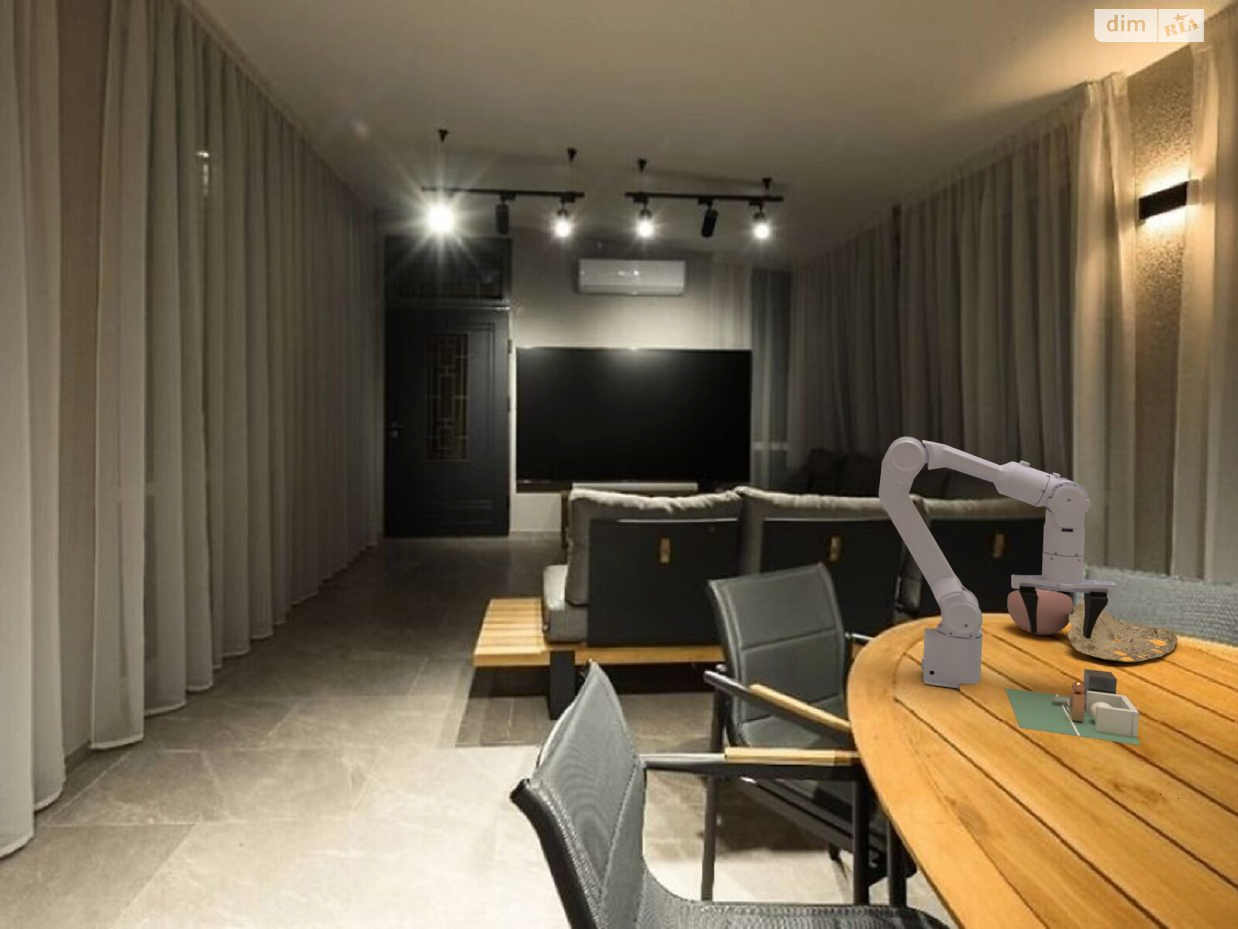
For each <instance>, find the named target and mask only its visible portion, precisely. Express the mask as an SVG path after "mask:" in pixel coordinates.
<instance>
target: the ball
mask: <svg viewBox="0 0 1238 929" xmlns="http://www.w3.org/2000/svg"><path fill="white" fill-rule="evenodd" d="M1096 705H1099V706H1106V707H1111V706H1110V705H1109V704H1107V703H1104V702H1097V703H1094V704H1093V705H1092V706H1091V708H1090V715H1091V717H1092V719H1093V720H1094V721H1096Z"/></svg>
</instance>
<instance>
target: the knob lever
mask: <svg viewBox="0 0 1238 929" xmlns="http://www.w3.org/2000/svg"><path fill="white" fill-rule="evenodd" d="M1117 683H1118V678H1117V677H1116V676H1115V675H1114V674H1113V672H1111V671H1105V670H1096V669H1090V668H1089V669H1088V668H1083V683H1082V682H1081V681H1074V682H1072V685H1071V689H1070V693H1069V694H1070V695H1069V696H1070V698H1064V697H1056V696H1052V703H1060V704H1065V706H1066V708H1067V710H1068V712H1069V715H1070V717H1071V719H1072V720H1075V721H1082V722H1084V709H1085V708H1086V697H1087V691H1093V692H1101V693H1109V694H1117V686H1118V685H1117Z"/></svg>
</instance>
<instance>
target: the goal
mask: <svg viewBox="0 0 1238 929" xmlns="http://www.w3.org/2000/svg"><path fill="white" fill-rule="evenodd" d="M1097 702H1104V703H1107V704H1109V705H1110V706H1111V707H1106V706H1099V705H1096V721H1095V730H1096V731H1097V732H1104V733H1111V734H1118V735H1125V736H1132V737H1136V738H1139V737H1138V734H1139V719H1140V712H1139V710H1138V709H1137V708H1136V707H1135V706H1134V705H1133V703H1132V702H1131V701H1130V699H1129V698H1128V697H1127V695H1125V694H1117V693H1116V694H1109V693H1101V692H1093V691H1087V697H1086V715H1087V716H1091V715H1090V708H1091V706H1092V705H1093V704H1094V703H1097Z"/></svg>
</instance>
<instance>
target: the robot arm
mask: <svg viewBox="0 0 1238 929" xmlns="http://www.w3.org/2000/svg"><path fill="white" fill-rule="evenodd" d="M921 440H922V442H921V441H920V440H919V439H917V438H915V437H913V436H901V437H899V438H897V439H895V440H894V441H893V442H892V443H891V444H890V446H889V447H888V449H887V451H886V453H885V455H884V457H883V459H882V461H881V468H880V469H881V470H880V471H881V473H880V481H879V488H878V498H879V500H880V502H881V504H882V505H883V507H884V510H885V511H886V513H887V515H888V517H889V518H890V520H891V522H892V523H893V525H894V527H895V528H896V530H897V532H898V534H899V535H900V537H901V539H902V541H903V543H904V544H905V546H906V547H907V548H908V551H909V552H910V555H911V556H912V558H913V559H914V561H915V563H916V565H917V566H918V568H919V569H920V571H921V573H922V575H923V576H924V578H925V580H926V582H927V584H928V586H929V587H930V589H931V592H932V593H933V596H934V598H935V600H936V602H937V605H938V606H939V609H940V614H941V618H940V619H941V620H940V622H938V623H937V625H936V627H935V628H932V627H931V628H929V627H928V628H927V627H925V628H924V634H923V656H922V657H923V658H921V662H920V663H921V667H920V668H921V670H922V674H923V675H922V676H923V677H922V678H923V683H924V684H925V685H930V686H937V687H947V688H953V689H961V686H960V684H961V685H975V684H978V683H979V682H981V677H982V676H981V674H982V673H981V672H982V656H983V655H982V651H983V638H984V635H983V633H984V632H983V630H982V626H983V622H984V620H983V619H984V618H983V614H982V610H981V609H980V605H979V604H980V603H979V601H978V598H977V597H976V595H975V594H974V593H973V592H972V591H970V590H968V588H966V587H965V586H964V585H963V583H962V582H961V580H960V578H958V576H957V575H956V574H955V572H954V571H953V569H952V566H951V565H950V563H949V562H948V560H947V558H946V557H945V554H944V553H943V551H942V550H941V548H940V547H939V544H938V543H937V541H936V540H935V538H934V536H933V535H932V533H931V531H930V529H929V528H928V527H927V524H926V523H925V521H924V519H923V517H922V515H921V514H920V512H919V510H918V509H917V507H916V505H915V504H914V502H913V501H912V499H911V497H910V495H909V494H910V491H911V488H912V487H913V486H912V485H913V482H914V480H915V478H916V476H917V475H918V474H919V473H920V471H921V470H922V469H923V467H924V466H925V464H926V466H927V470H929V471H930V470H935V469H942V468H947V469H951V470H954V471H957V472H960V473H964V474H967V475H969V476H972V477H975V478H978V479H981V480H983V481H988V482H991V483H993V484H994V486H995V489H996V490H997V493H998V494H1001V495H1003V496H1005V497H1009V498H1012V499H1015V500H1017V501H1021V502H1022V503H1026V504H1029V505H1032V506H1034V507H1036V508H1038V507H1039V508H1041V507H1045V508H1046V509H1045V519H1044V520H1045V522H1044V523H1043V540H1042V542H1043V543H1042V544H1043V545H1042V567H1041V568H1042V569H1041V575H1037V574H1035V575H1034V574H1032V575H1030V574H1029V575H1025V574H1023V575H1022V574H1011V576H1010V577H1011V580H1010V581H1011V584H1010V585H1011V589H1017V590H1019V592H1020V595H1021V597H1022V599H1023V602H1024V604H1025V607H1026V610H1027V614H1028V618H1029V623H1030V630H1031V632H1032V633H1037V604H1038V596H1037V591H1036V590H1035V589H1040V590H1050V591H1052V592H1053V591H1056V592H1067V593H1068V592H1069V593H1081V594H1083V598H1084V599H1083V600H1084V604H1085V615H1084V624H1083V635H1084V636H1085V638H1089V639H1091V635H1092V631H1093V628H1094V625H1095V623H1096V621H1097V619H1098V617H1099V615H1100V614H1101V612H1102V611H1103V609H1104V610H1105V608H1106V606H1107V605H1108V603H1109V597H1116V583H1114V582H1113V581H1104V580H1097V579H1088V578H1083V576H1084V556H1085V535H1086V534H1085V533H1086V532H1085V531H1086V528H1085V517H1086V516H1085V514H1086V513H1087V512H1088V510H1089V509H1090V507H1091V503H1092V502H1091V501H1092V500H1090V499H1089V497H1090V496H1089V494H1088V491H1087V490H1086V489H1085V487H1083V486H1082V485H1081V484H1078V483H1076V482H1074V481H1072V480H1069V479H1068V478H1067V477H1061V474H1059V473H1056V472H1052V474H1050V473H1048V472H1045V471H1042V470H1039V469H1038V468H1037V469H1036V468H1033V467H1031V464H1030V463H1029V462H1027V461H1024V460H1020V461H1019V462H1016V461H1009V462H1007V463H1004V464H1001V465H999V464H997V463H995V462H992V461H990V460H986V459H983V458H981V457H978V456H975V455H973V454H970V453H968V452H966V451H963V450H960V449H957V448H956V447H955V448H954V447H952V446H949V445H947V444H943V443H940V442H938V443H937V442H934V441H928V440H925V439H924V440H923V439H921ZM1032 633H1031V634H1032Z"/></svg>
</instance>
